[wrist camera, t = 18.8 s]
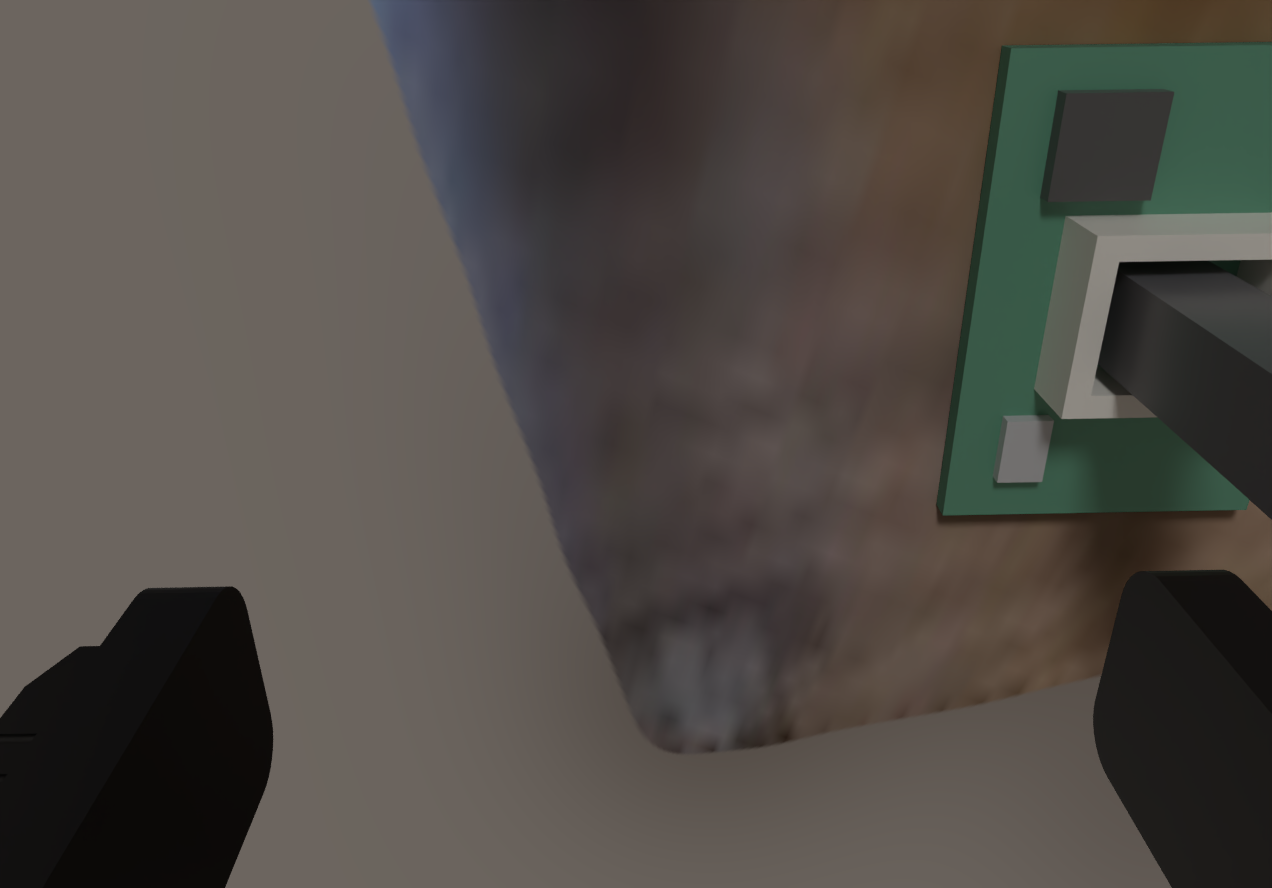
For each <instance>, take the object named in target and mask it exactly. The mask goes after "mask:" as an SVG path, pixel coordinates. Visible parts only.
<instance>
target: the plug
mask: <svg viewBox="0 0 1272 888" xmlns="http://www.w3.org/2000/svg"><path fill="white" fill-rule="evenodd" d="M1098 365H1100V366H1101V367H1102V368H1103V369H1104V370H1105V371H1106V372H1107V373H1108V374H1110V375H1111V376H1112V377H1113V378H1114V379H1115V380H1116V381H1117V382H1119V383H1120V384H1121V385H1122V386H1123V387H1124V388H1125V389H1126V390H1127V391H1129V392H1130V393H1131V394H1132V395H1133V396H1134V397H1135V398H1136V399H1138V400H1139V401H1140V402H1141V403H1142V404H1143V405H1144V406H1145V407H1146V408H1148V409H1149V410H1150V411H1151V412H1152V413H1153V414H1154V415H1155V416H1156V417H1158V418H1159V419H1160V420H1161V421H1162V422H1163V423H1164V424H1165V425H1167V426H1168V427H1169V428H1170V429H1171V430H1172V431H1173V432H1174V433H1175V434H1177V435H1178V436H1179V437H1180V438H1181V439H1182V440H1183V441H1184V442H1186V443H1187V444H1188V445H1189V446H1190V447H1191V448H1192V449H1193V450H1194V451H1196V452H1197V453H1198V454H1199V455H1200V456H1201V457H1202V458H1203V459H1205V460H1206V461H1207V462H1208V463H1209V464H1210V465H1211V466H1212V467H1213V468H1215V469H1216V470H1217V471H1218V472H1219V473H1220V474H1221V475H1222V476H1223V477H1225V478H1226V479H1227V480H1228V481H1229V482H1230V483H1231V484H1232V485H1234V486H1235V487H1236V488H1237V489H1238V490H1239V491H1240V492H1241V493H1242V494H1244V495H1245V496H1246V497H1247V498H1248V499H1249V500H1250V501H1251V502H1253V503H1254V504H1255V505H1256V506H1257V507H1258V508H1259V509H1260V510H1261V511H1263V512H1264V513H1265V514H1266V515H1267V516H1268V517H1269V518H1270V519H1272V296H1271V295H1269V294H1267V293H1265V292H1263V291H1262V290H1260V289H1258V288H1256V287H1254V286H1253V285H1251V284H1249V283H1247V282H1245V281H1244V280H1242V279H1240V278H1238V277H1236V276H1235V275H1233V274H1231V273H1229V272H1227V271H1226V270H1224V269H1222V268H1220V267H1218V266H1217V265H1215V264H1213V263H1211V262H1209V261H1145V262H1119V265H1118V270H1117V275H1116V279H1115V284H1114V289H1113V294H1112V298H1111V303H1110V308H1109V313H1108V317H1107V322H1106V327H1105V332H1104V336H1103V341H1102V346H1101V351H1100V355H1099V360H1098Z"/></svg>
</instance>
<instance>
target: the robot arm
mask: <svg viewBox="0 0 1272 888" xmlns="http://www.w3.org/2000/svg"><path fill="white" fill-rule="evenodd" d="M1093 725H1094V735H1095V742H1096V747H1097V751H1098V755H1099V758H1100V761H1101V764H1102V766H1103V769H1104V771H1105V773H1106V775H1107V777H1108V779H1109V780H1110V782H1111V784H1112V786H1113V787H1114V789H1115V791H1116V793H1117V794H1118V796H1119V798H1120V799H1121V801H1122V803H1123V804H1124V806H1125V808H1126V810H1127V811H1128V813H1129V815H1130V817H1131V818H1132V820H1133V822H1134V823H1135V825H1136V827H1137V828H1138V830H1139V832H1140V834H1141V835H1142V837H1143V839H1144V841H1145V842H1146V844H1147V846H1148V847H1149V849H1150V851H1151V853H1152V854H1153V856H1154V858H1155V859H1156V861H1157V863H1158V865H1159V866H1160V868H1161V870H1162V872H1163V873H1164V874H1165V876H1166V878H1167V880H1168V882H1169V883H1170V885H1171V887H1172V888H1272V611H1271V610H1270V609H1269V608H1268V607H1267V606H1266V605H1265V604H1264V603H1263V602H1262V601H1261V600H1260V599H1259V597H1258V596H1257V595H1256V594H1255V593H1254V592H1253V591H1252V590H1251V589H1250V588H1249V587H1248V586H1247V585H1246V584H1245V583H1244V582H1243V581H1242V580H1241V579H1240V578H1239V577H1238V576H1236V575H1235V574H1233V573H1231V572H1230V571H1226V570H1189V571H1140V572H1137V573H1135V574H1134V575H1132V576H1131V577H1130V579H1129V580H1128V581H1127V583H1126V585H1125V587H1124V589H1123V593H1122V596H1121V600H1120V604H1119V608H1118V612H1117V616H1116V620H1115V624H1114V628H1113V632H1112V636H1111V640H1110V644H1109V648H1108V652H1107V656H1106V660H1105V664H1104V668H1103V672H1102V676H1101V680H1100V684H1099V688H1098V692H1097V696H1096V700H1095V705H1094V714H1093ZM272 751H273V727H272V720H271V713H270V709H269V705H268V700H267V696H266V691H265V687H264V682H263V678H262V674H261V669H260V665H259V660H258V656H257V651H256V647H255V642H254V638H253V634H252V629H251V625H250V620H249V616H248V611H247V608H246V604H245V601H244V599H243V597H242V595H241V593H240V592H239V591H238V590H237V589H236V588H234V587H190V588H189V587H188V588H187V587H184V588H148V589H145V590H143V591H142V592H140V593H139V594H138V595H137V596H136V597H135V598H134V600H133V601H132V602H131V604H130V605H129V607H128V608H127V610H126V611H125V612H124V614H123V615H122V616H121V618H120V619H119V620H118V622H117V623H116V625H115V626H114V627H113V629H112V630H111V632H110V633H109V634H108V636H107V637H106V639H105V640H104V641H103V643H102V644H101V645H100V646H83V647H79V648H77V649H76V650H75V651H73V652H72V653H71V654H69V655H68V656H66V657H65V658H64V659H62V660H61V661H60V662H58V663H57V664H56V665H54V666H53V667H51V668H50V669H49V670H47V671H46V672H45V673H43V674H42V675H40V676H39V677H38V678H36V679H35V680H34V681H32V682H31V683H29V684H28V685H27V686H25V687H24V689H23V690H22V691H21V692H20V694H19V695H18V696H17V697H16V699H15V700H14V701H13V703H12V704H11V705H10V706H9V708H8V709H7V710H6V712H5V713H4V714H3V715H2V717H1V718H0V888H225V886H226V884H227V881H228V879H229V876H230V874H231V871H232V869H233V867H234V864H235V862H236V859H237V857H238V854H239V852H240V850H241V847H242V845H243V842H244V840H245V837H246V835H247V832H248V830H249V827H250V825H251V823H252V820H253V818H254V815H255V813H256V810H257V808H258V805H259V803H260V800H261V798H262V796H263V793H264V791H265V788H266V785H267V781H268V778H269V773H270V768H271V761H272Z"/></svg>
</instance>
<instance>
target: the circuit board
mask: <svg viewBox="0 0 1272 888" xmlns="http://www.w3.org/2000/svg"><path fill="white" fill-rule="evenodd" d="M1145 261H1209V262H1211V263H1213V264H1215V265H1217V266H1218V267H1220V268H1222V269H1224V270H1226V271H1227V272H1229V273H1231V274H1233V275H1235V276H1236V277H1238V278H1240V279H1242V280H1244V281H1245V282H1247V283H1249V284H1251V285H1253V286H1254V287H1256V288H1258V289H1260V290H1262V291H1263V292H1265V293H1267V294H1269V295H1271V296H1272V42H1235V43H1160V44H1086V45H1011V46H1002V50H1001V57H1000V64H999V71H998V78H997V85H996V92H995V99H994V106H993V113H992V120H991V127H990V134H989V141H988V148H987V155H986V162H985V169H984V176H983V183H982V190H981V197H980V204H979V211H978V218H977V225H976V232H975V239H974V246H973V253H972V260H971V267H970V274H969V281H968V288H967V295H966V302H965V309H964V316H963V323H962V330H961V337H960V344H959V351H958V358H957V365H956V372H955V379H954V386H953V393H952V400H951V407H950V414H949V421H948V428H947V435H946V442H945V448H944V455H943V462H942V469H941V476H940V483H939V490H938V497H937V506H938V508H939V510H940V511H941V513H942V515H992V514H1045V513H1099V512H1152V511H1206V510H1247V506H1248V503H1249V499H1248V498H1247V497H1246V496H1245V495H1244V494H1242V493H1241V492H1240V491H1239V490H1238V489H1237V488H1236V487H1235V486H1234V485H1232V484H1231V483H1230V482H1229V481H1228V480H1227V479H1226V478H1225V477H1223V476H1222V475H1221V474H1220V473H1219V472H1218V471H1217V470H1216V469H1215V468H1213V467H1212V466H1211V465H1210V464H1209V463H1208V462H1207V461H1206V460H1205V459H1203V458H1202V457H1201V456H1200V455H1199V454H1198V453H1197V452H1196V451H1194V450H1193V449H1192V448H1191V447H1190V446H1189V445H1188V444H1187V443H1186V442H1184V441H1183V440H1182V439H1181V438H1180V437H1179V436H1178V435H1177V434H1175V433H1174V432H1173V431H1172V430H1171V429H1170V428H1169V427H1168V426H1167V425H1165V424H1164V423H1163V422H1162V421H1161V420H1160V419H1159V418H1158V417H1156V416H1155V415H1154V414H1153V413H1152V412H1151V411H1150V410H1149V409H1148V408H1146V407H1145V406H1144V405H1143V404H1142V403H1141V402H1140V401H1139V400H1138V399H1136V398H1135V397H1134V396H1133V395H1132V394H1131V393H1130V392H1129V391H1127V390H1126V389H1125V388H1124V387H1123V386H1122V385H1121V384H1120V383H1119V382H1117V381H1116V380H1115V379H1114V378H1113V377H1112V376H1111V375H1110V374H1108V373H1107V372H1106V371H1105V370H1104V369H1103V368H1102V367H1101V366H1100V365H1098V360H1099V355H1100V351H1101V346H1102V341H1103V336H1104V332H1105V327H1106V322H1107V317H1108V313H1109V308H1110V303H1111V298H1112V294H1113V289H1114V284H1115V279H1116V275H1117V270H1118V265H1119V262H1145Z"/></svg>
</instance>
